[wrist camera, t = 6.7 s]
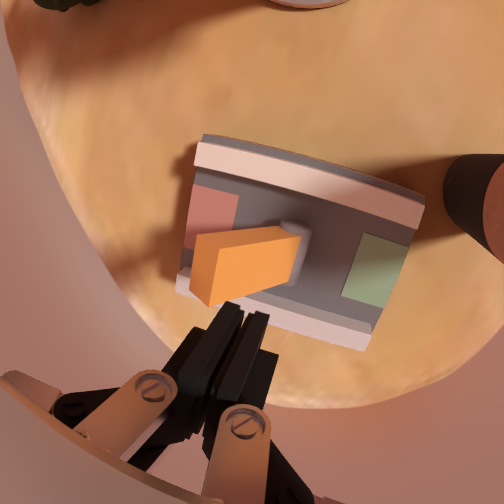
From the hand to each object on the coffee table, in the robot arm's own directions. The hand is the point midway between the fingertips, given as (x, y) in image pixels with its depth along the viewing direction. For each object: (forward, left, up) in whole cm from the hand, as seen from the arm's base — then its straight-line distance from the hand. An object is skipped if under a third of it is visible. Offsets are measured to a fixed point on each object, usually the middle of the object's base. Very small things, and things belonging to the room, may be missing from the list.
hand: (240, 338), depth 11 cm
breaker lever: (+1, +1, -13) cm, 13 cm away
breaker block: (+1, 0, -17) cm, 17 cm away
